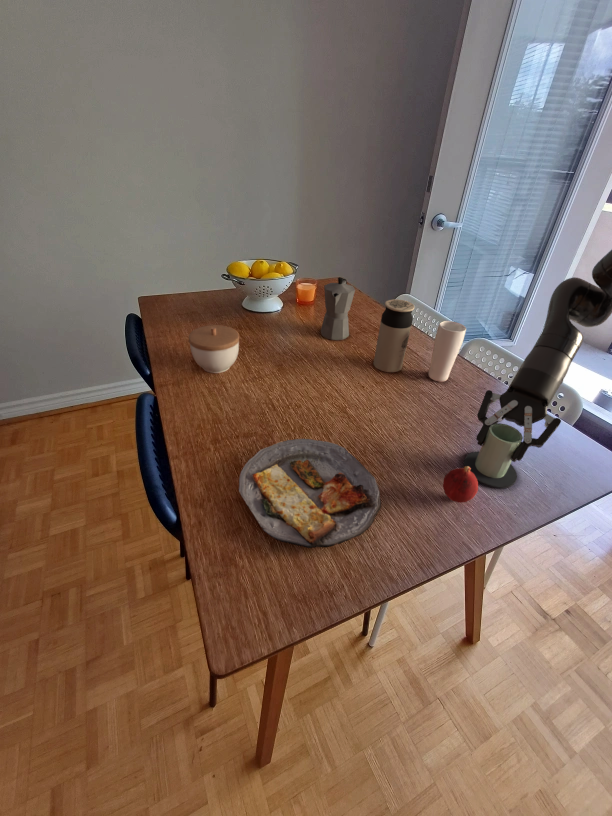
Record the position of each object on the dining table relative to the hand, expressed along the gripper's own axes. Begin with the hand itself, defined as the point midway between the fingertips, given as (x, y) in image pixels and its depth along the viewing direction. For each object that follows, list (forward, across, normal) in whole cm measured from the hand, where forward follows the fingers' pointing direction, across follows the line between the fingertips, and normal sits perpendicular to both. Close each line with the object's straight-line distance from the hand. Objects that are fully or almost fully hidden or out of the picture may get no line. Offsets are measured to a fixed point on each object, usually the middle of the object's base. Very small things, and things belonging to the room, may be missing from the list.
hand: (496, 452), depth 75 cm
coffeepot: (-16, -60, +25) cm, 67 cm away
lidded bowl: (+13, -69, -4) cm, 70 cm away
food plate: (+24, -22, -16) cm, 36 cm away
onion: (+12, -2, -3) cm, 12 cm away
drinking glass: (-15, -24, +24) cm, 37 cm away
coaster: (+3, 0, +5) cm, 6 cm away
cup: (+3, 0, +5) cm, 6 cm away
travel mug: (-12, -37, +20) cm, 44 cm away
